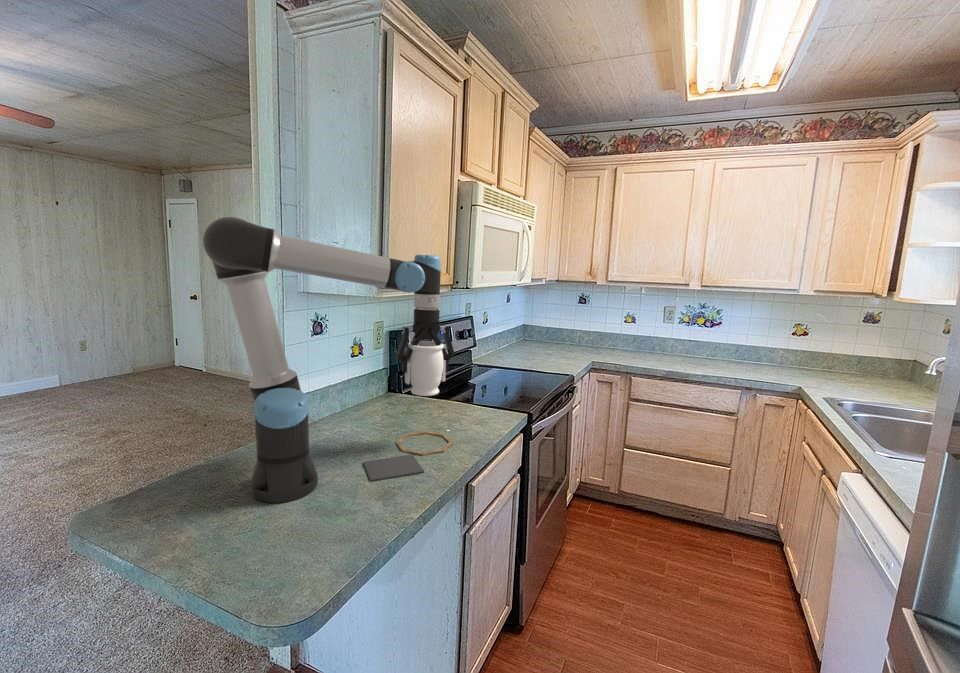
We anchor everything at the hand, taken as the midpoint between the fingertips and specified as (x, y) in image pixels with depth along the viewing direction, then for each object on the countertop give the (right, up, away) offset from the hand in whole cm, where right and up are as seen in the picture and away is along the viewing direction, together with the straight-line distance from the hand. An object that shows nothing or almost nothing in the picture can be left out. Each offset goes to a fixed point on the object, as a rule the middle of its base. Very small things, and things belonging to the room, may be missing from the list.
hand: (425, 381), depth 136 cm
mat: (-7, -22, -13) cm, 27 cm away
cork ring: (-1, -19, +4) cm, 20 cm away
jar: (0, -3, +1) cm, 4 cm away
